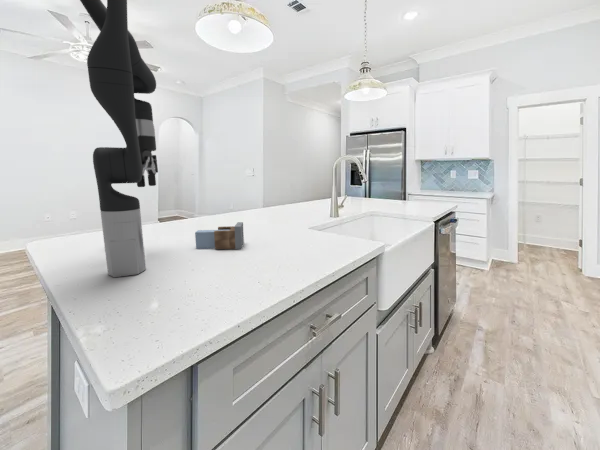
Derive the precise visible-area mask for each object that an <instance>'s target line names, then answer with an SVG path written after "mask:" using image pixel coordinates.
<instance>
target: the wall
mask: <svg viewBox="0 0 600 450" xmlns="http://www.w3.org/2000/svg"><path fill="white" fill-rule="evenodd" d="M234 226H235V250H242V249H243V246H244V243H245V237H244V222H241V221H240V222H236V224H235V225H234Z"/></svg>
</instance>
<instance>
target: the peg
mask: <svg viewBox="0 0 600 450" xmlns="http://www.w3.org/2000/svg"><path fill="white" fill-rule="evenodd" d="M214 231H223V230H218V229H203V230H202V229H197V230H196V231H195V233H194V237H195V249H197V250H198V249H203V250H204V249H215V239H214Z"/></svg>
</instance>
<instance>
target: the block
mask: <svg viewBox="0 0 600 450" xmlns="http://www.w3.org/2000/svg"><path fill="white" fill-rule="evenodd" d="M217 230H223V231H214V239H215V248H214V249H215V250H226V249H229V250H231V249H233V250H234V249H235V225H234V226H218V227H217ZM235 250H236V249H235Z"/></svg>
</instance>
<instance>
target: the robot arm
mask: <svg viewBox="0 0 600 450" xmlns="http://www.w3.org/2000/svg"><path fill="white" fill-rule="evenodd" d="M106 1H107V2H106V5H105V4H104V3H103V1H102V0H79V2H81V4H82V6H83V7H84V9H85V10H86V12H87V13H88V16H89V17H90V18H91V20H92V21H93V23H94V25H95V26H97V29H98V30H99V34H98V35H97V37H96V39H95V40H94V42H93V44H92V46H91V48H90V50H89V52H88V56H87V60H86V65H87V73H88V81H89V87H90V91H91V93H92V95H93V97H94V98H95V100H96V101H97V102H98V104H99V105H100V106H101V108H103V110H104V111H105V112H106V114H107V115H108V116H109V117H110V118H111V120H112V121H113V123H114V124H115V126H116V128H117V129H118V130H119V132H120V134H121V135H122V137H123V140H124V142H125V145H126V147H111V146H110V147H108V146H107V147H103V146H101V147H96V148H95V149H94V150H93V152H92V153H93V154H92V162H93V163H92V164H93V170H94V175H95V180H96V184H97V192H98V199H99V200H98V201H99V210H100V217H101V218H100V219H101V226H102V235H103V243H104V252H105V260H106V267H107V269H106V270H107V275H109V276H111V277H112V278H119V277H127V276H135V275H139V274H141V273H142V272H144V271H146V269H147V265H146V258H145V257H146V255H145V246H144V237H143V225H142V215H141V214H142V213H141V205H140V200H139V198H138V197H136V196H134V195H133V196H132V195H128V194H124V193H121V192H120V191H118V190H117V189H114V187H113V185H112V184H118V185H119V184H136V185H137V187H138V188H144V187H146V180H145V171H146V173H147V181H148V186H149V187H155V186H157V181H156V180H157V179H156V175H157V173H159V167H158V160H157V155H156V154H153V153H152V152H155V151H157V143H156V142H157V141H156V132H155V131H156V129H155V125H154V118H153V108H152V104H151V103H150V102H149V101H147V100H142V99H139V98H135V94H147V95H148V94H153V93H154V92H155V91H156V89H157V80H156V77H155V75H154V73H153V72H152V71H151V69H150V67H149V66H148V65H147V64H146V62H145V61H144V59H143V57H142V55H141V53H140V50H139V47H138V44H137V41H136V40H135V37H134V36H133V34H132V33H131V32H130V30H129V29H128V28H129V27H128V25H129V23H128V0H106Z"/></svg>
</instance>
